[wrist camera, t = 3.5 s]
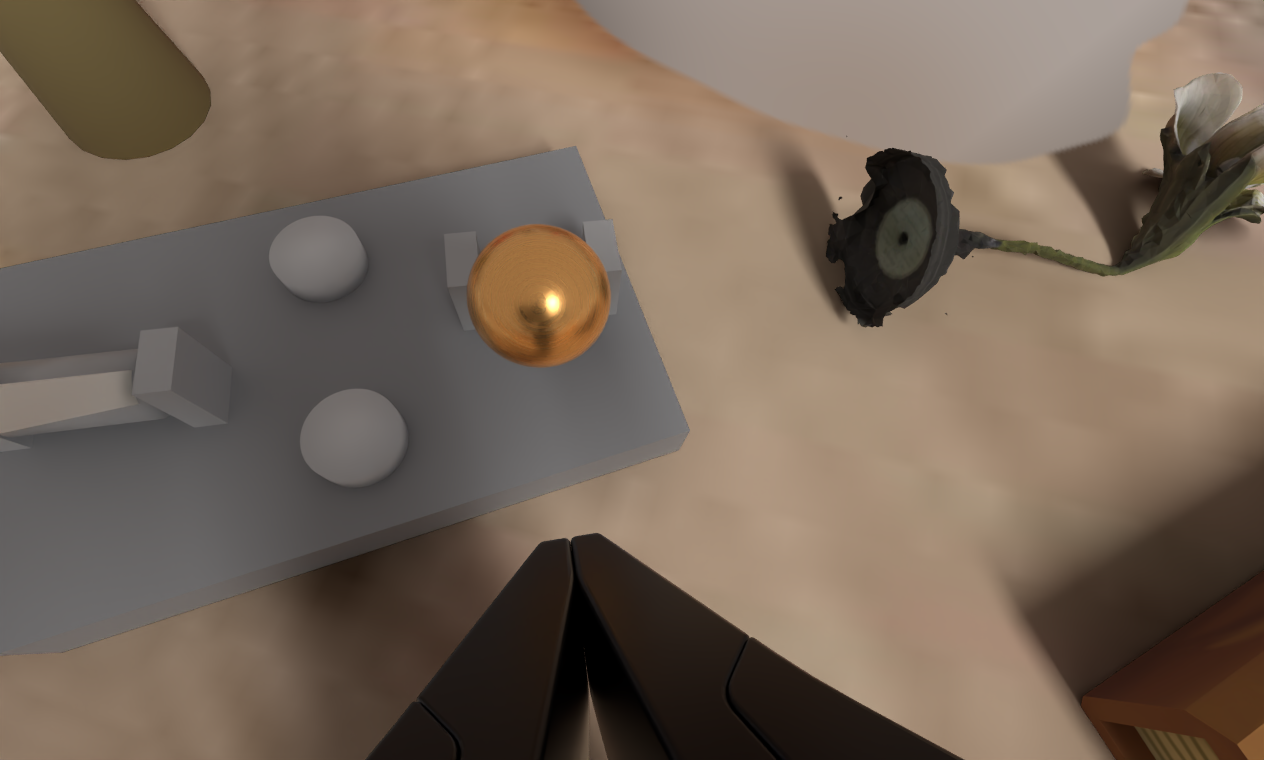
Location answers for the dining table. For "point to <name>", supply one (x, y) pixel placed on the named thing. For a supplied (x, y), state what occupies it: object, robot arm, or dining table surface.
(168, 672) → the dining table surface
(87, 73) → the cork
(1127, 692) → the diary
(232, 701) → the dining table surface
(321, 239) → the switch panel
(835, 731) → the robot arm
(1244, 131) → the artificial flower
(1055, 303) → the dining table surface
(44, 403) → the cream paddle switch
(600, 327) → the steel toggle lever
